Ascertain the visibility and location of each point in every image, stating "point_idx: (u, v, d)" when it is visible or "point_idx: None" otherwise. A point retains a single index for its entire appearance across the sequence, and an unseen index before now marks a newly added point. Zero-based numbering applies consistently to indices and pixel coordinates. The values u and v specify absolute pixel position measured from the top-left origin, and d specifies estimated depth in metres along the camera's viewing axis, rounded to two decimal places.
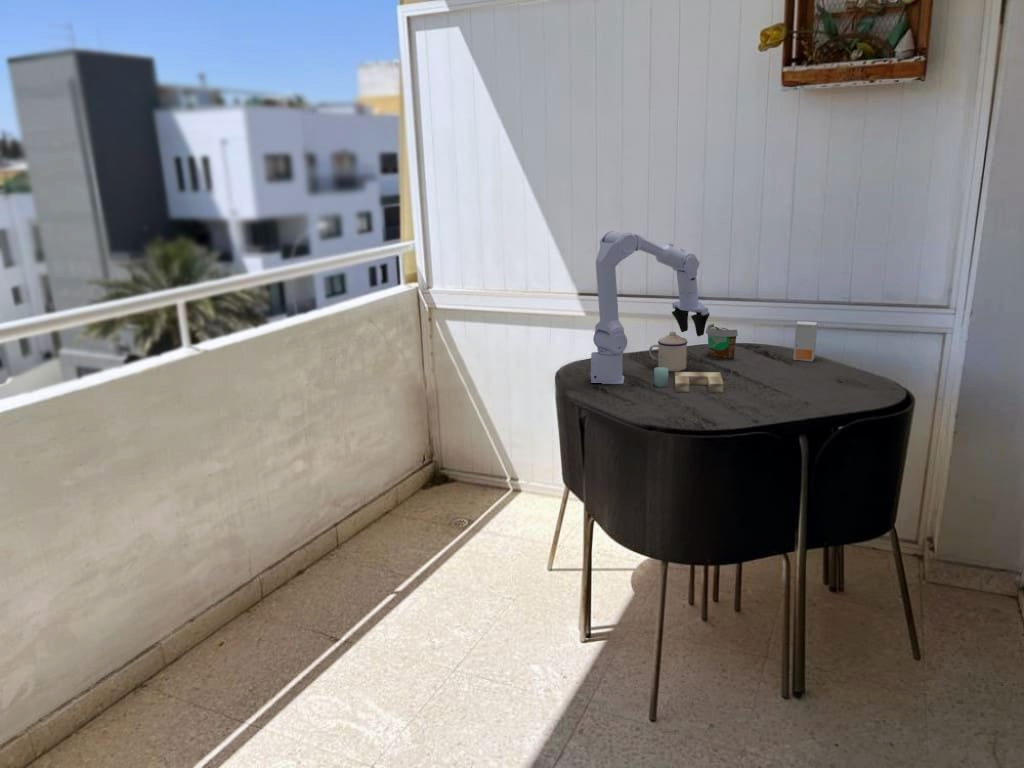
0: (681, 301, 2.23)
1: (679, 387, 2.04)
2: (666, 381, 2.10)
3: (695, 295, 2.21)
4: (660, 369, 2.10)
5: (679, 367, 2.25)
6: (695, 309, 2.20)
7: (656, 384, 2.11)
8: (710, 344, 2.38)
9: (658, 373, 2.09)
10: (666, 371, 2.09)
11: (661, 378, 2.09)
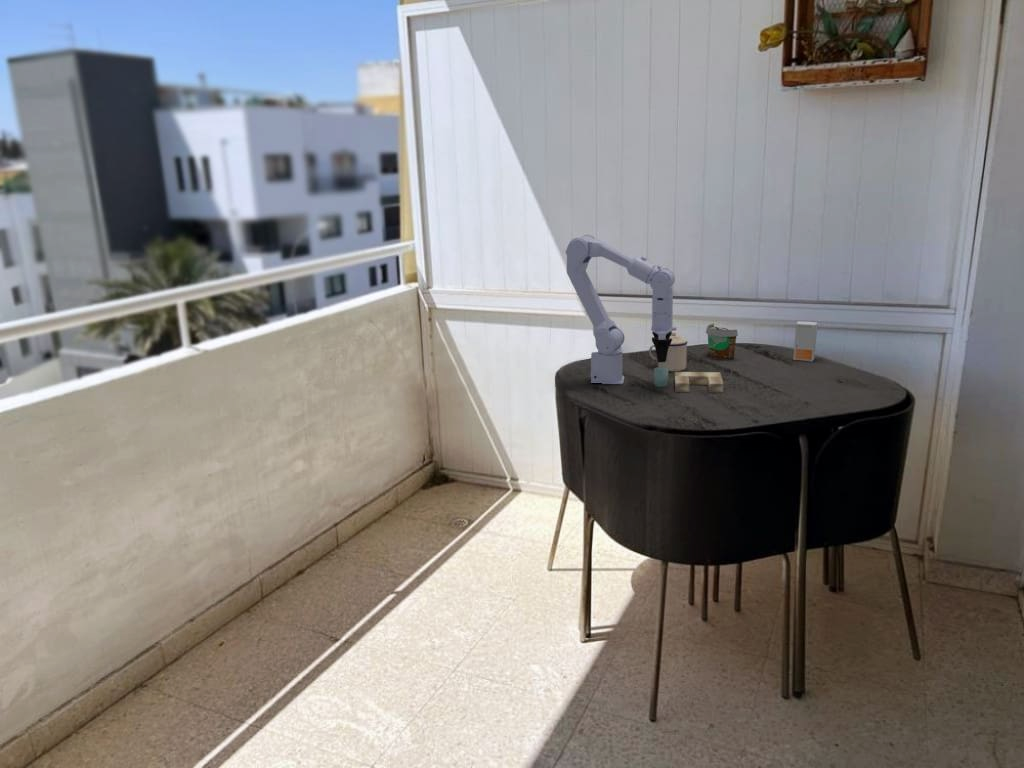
0: (652, 320, 2.07)
1: (679, 387, 2.04)
2: (666, 381, 2.10)
3: (663, 317, 2.03)
4: (660, 369, 2.10)
5: (679, 367, 2.25)
6: (656, 331, 2.03)
7: (656, 384, 2.11)
8: (710, 344, 2.38)
9: (658, 373, 2.09)
10: (666, 371, 2.09)
11: (661, 378, 2.09)
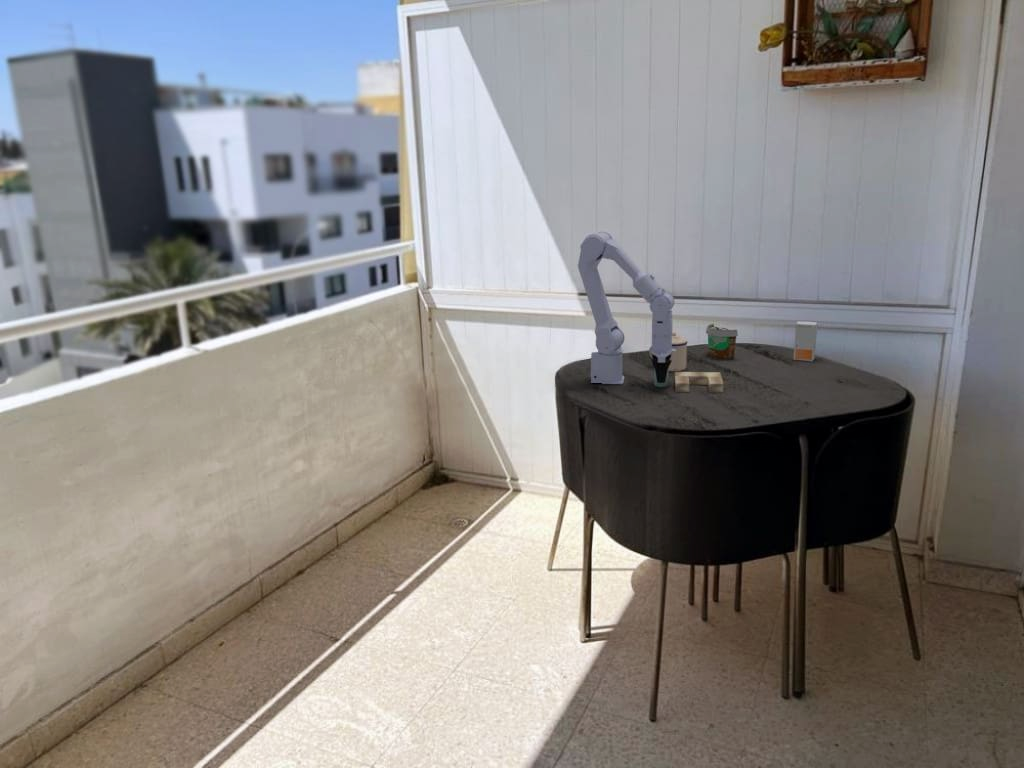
0: None
1: (679, 387, 2.04)
2: (666, 381, 2.10)
3: (663, 340, 2.05)
4: None
5: (679, 367, 2.25)
6: (656, 354, 2.05)
7: (656, 384, 2.11)
8: (710, 344, 2.38)
9: None
10: None
11: None
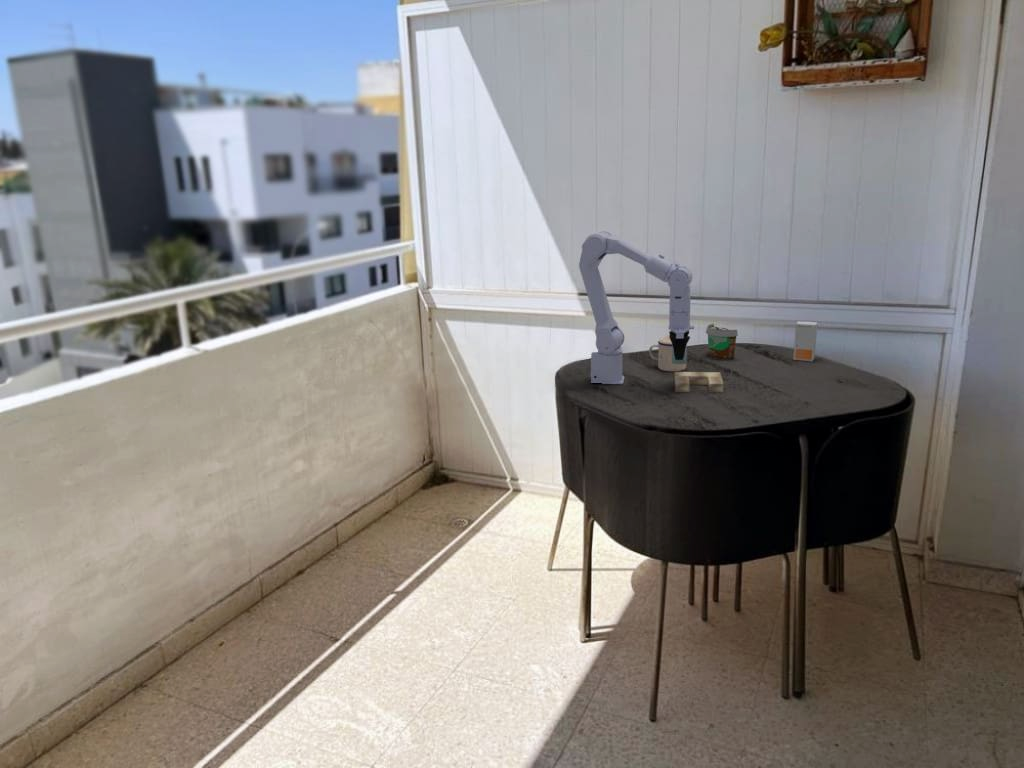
0: (669, 319, 2.05)
1: (679, 387, 2.04)
2: (684, 358, 2.06)
3: (681, 316, 2.01)
4: None
5: (679, 367, 2.25)
6: (674, 330, 2.01)
7: (674, 361, 2.07)
8: (710, 344, 2.38)
9: None
10: None
11: None
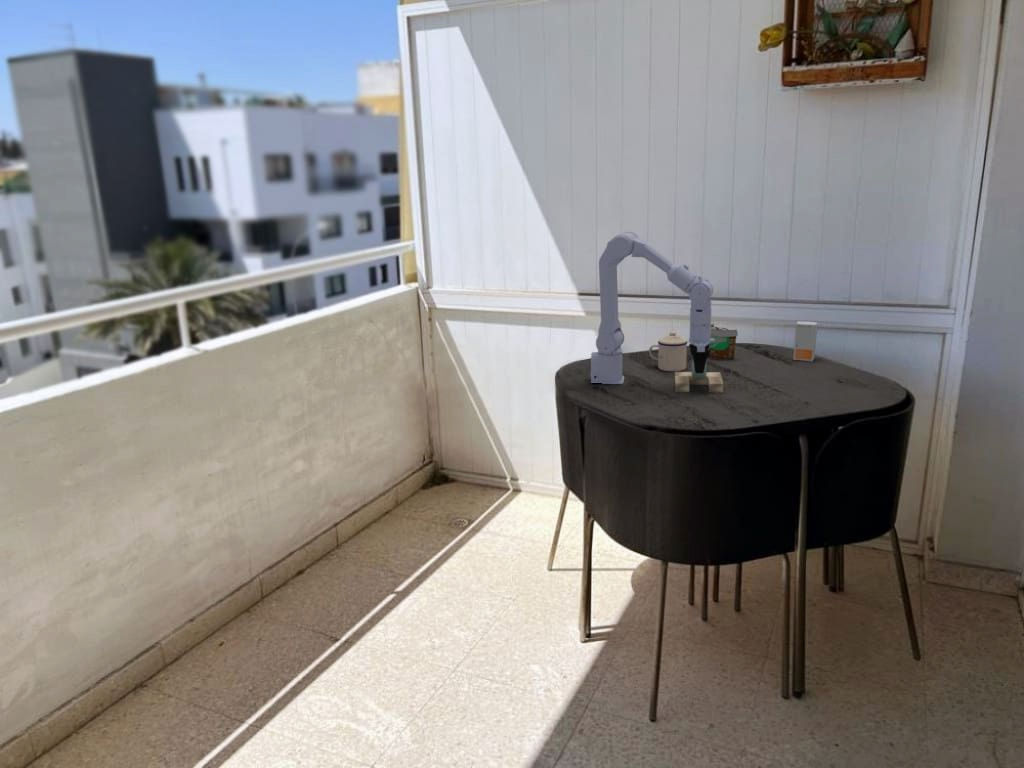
0: None
1: (679, 387, 2.04)
2: (704, 371, 2.05)
3: (702, 329, 2.00)
4: None
5: (679, 367, 2.25)
6: (694, 344, 2.00)
7: (694, 374, 2.06)
8: (710, 344, 2.38)
9: None
10: None
11: None
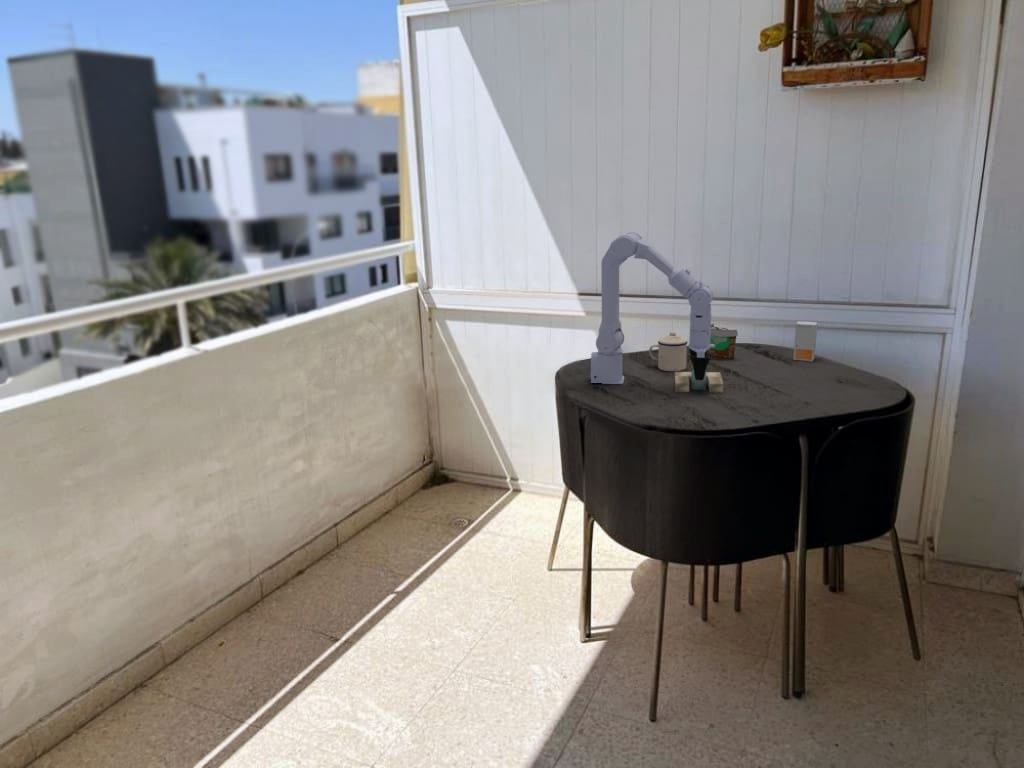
0: None
1: (679, 387, 2.04)
2: (704, 384, 2.06)
3: (701, 335, 2.01)
4: None
5: (679, 367, 2.25)
6: (694, 349, 2.01)
7: (693, 387, 2.07)
8: None
9: None
10: None
11: (699, 380, 2.05)
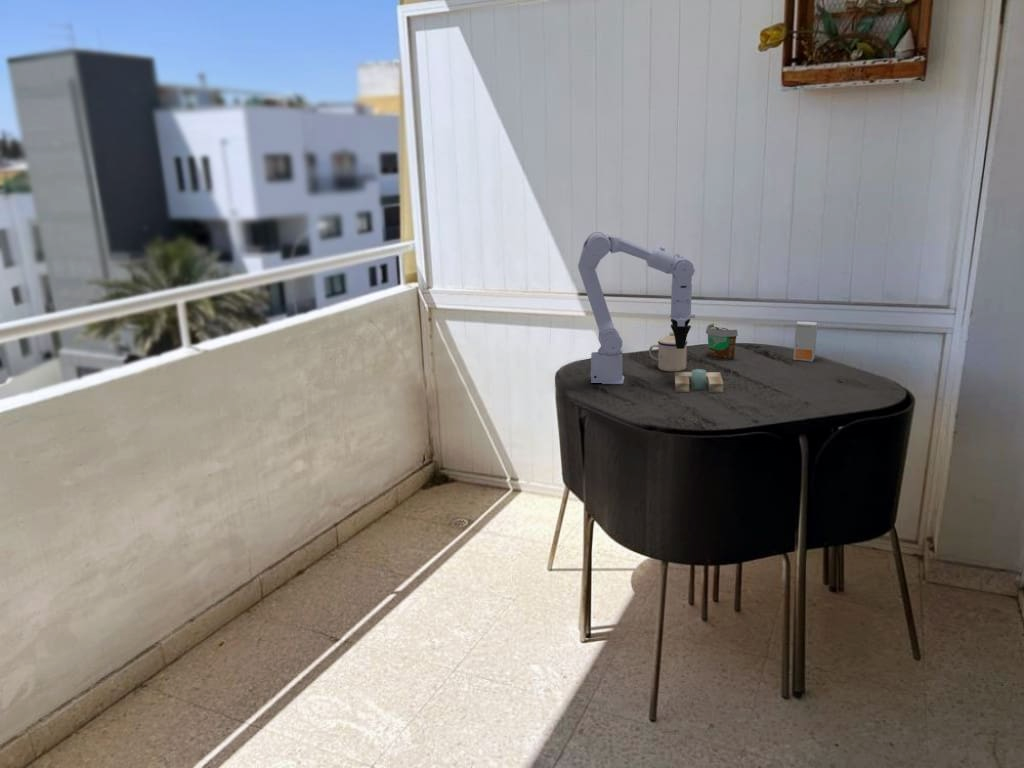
0: (671, 308, 2.12)
1: (679, 387, 2.04)
2: (704, 384, 2.06)
3: (682, 305, 2.08)
4: (698, 371, 2.06)
5: (679, 367, 2.25)
6: (675, 318, 2.08)
7: (693, 387, 2.07)
8: (710, 344, 2.38)
9: (696, 376, 2.05)
10: (704, 373, 2.05)
11: (699, 380, 2.05)
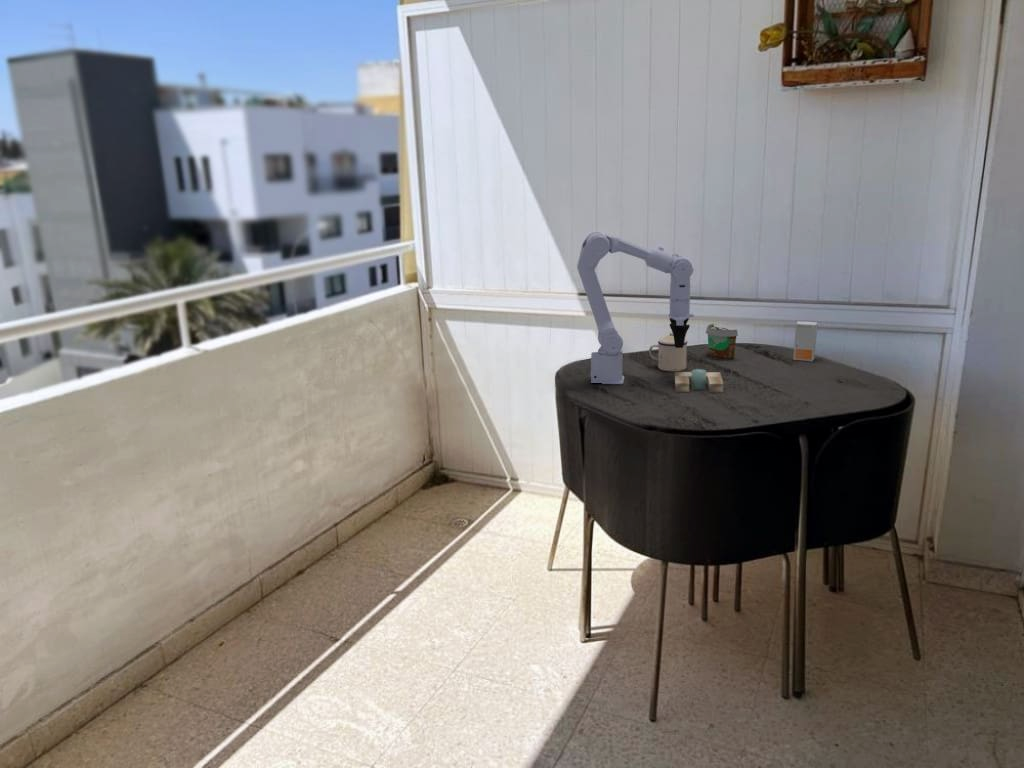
0: None
1: (679, 387, 2.04)
2: (704, 384, 2.06)
3: (681, 304, 2.09)
4: (698, 371, 2.06)
5: (679, 367, 2.25)
6: (674, 318, 2.09)
7: (693, 387, 2.07)
8: (710, 344, 2.38)
9: (696, 376, 2.05)
10: (704, 373, 2.05)
11: (699, 380, 2.05)
